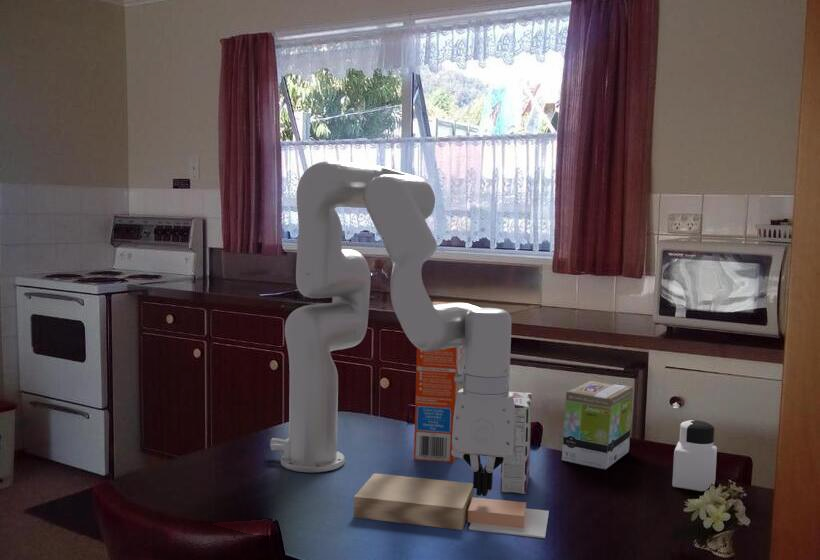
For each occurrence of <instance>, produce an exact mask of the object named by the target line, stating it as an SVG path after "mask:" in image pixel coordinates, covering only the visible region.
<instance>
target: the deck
mask: <svg viewBox="0 0 820 560" xmlns="http://www.w3.org/2000/svg"><path fill="white" fill-rule="evenodd" d="M474 491H475V488H473V482H472V483H471V482H462V481H461V482H460V481H453V480H443V479H434V478H433V479H432V478H424V477H416V476H415V477H414V476H406V475H405V476H404V475H393V474H385V473H375V472H374V473H372V475H371V476H370V478H369V479H368V480H367V481H366V482H365V484H363V485H362V487H361V488H360V489H359V490H358V492H357V493H356V494H355V495H354V496H353V518H355V519H356V518H357V519H364V520H365V519H366V520H374V521H381V522H382V521H384V522H392V523H398V524H408V525H416V526H417V525H418V526H426V527H433V528H434V527H435V528H442V529H451V530H459V531H462V530H463V529H464V526H465V524H466V522H467V520H468V509H469V506H470V503H471V500H472V497H475V495H474V494H475V492H474Z"/></svg>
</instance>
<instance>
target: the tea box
mask: <svg viewBox="0 0 820 560" xmlns="http://www.w3.org/2000/svg"><path fill="white" fill-rule="evenodd" d="M633 390H634V387H633V386H629V385H622V384H615V383H609V382H604V381H603V382H602V381H596V380H589V381H587V382H585V383H582V384H580V385H578V386H576V387H573V388H571V389H569V390H567V391H566V392H565V394H566V395H565V409H564V419H563V420H564V423H563V441H562V448H561V449H562V451H561V453H562V454H561V461H564V462H569V463H573V464H576V465H577V464H578V465H581V466H587V467H592V468H596V469H602V470H607V469H608V468H609V467H611V466H612V465H613V464H615V463H616V462H617V461H619V460H620V459H621V458H622V457H624V456H625V455H626V454H628V453H629V452H630V451H629V450H630V438H631V424H632V412H633V411H632V410H633V409H632V408H633V395H634V391H633Z"/></svg>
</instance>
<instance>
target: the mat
mask: <svg viewBox="0 0 820 560" xmlns="http://www.w3.org/2000/svg"><path fill="white" fill-rule="evenodd" d="M549 514H550V510H546V509H535V508H528V507H526V515H525V522H524V528H518V527H508V526H498V525H489V524H479V523H469V527H468V530H471V531H477V532H486V533H495V534H504V535H512V536H521V537H529V538H538V539H546V533H547V527H548V521H549V520H548V519H549Z"/></svg>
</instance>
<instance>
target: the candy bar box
mask: <svg viewBox="0 0 820 560" xmlns="http://www.w3.org/2000/svg"><path fill="white" fill-rule="evenodd" d="M509 392H512V393H513V398H514V405H515V418H516V442H515V451H516V455H517V458H516V460H515V461H514V462H507V463H501V464H500V466H501V468H500V492H501V493H502V494H503V493H504V494H511V495H512V494H513V495H515V494H516V495H527V490H528V485H529V484H528V483H529V480H530V461H531V460H530V459H531V455H530V454H531V453H530V452H531V427H532V426H531V425H532V424H531V423H532V422H531V421H532V418H531V417H532V394H533V393H532V392H525V391H524V392H522V391H511V390H509Z"/></svg>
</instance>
